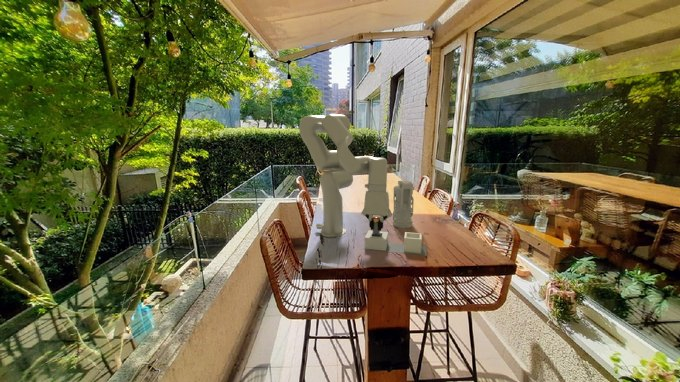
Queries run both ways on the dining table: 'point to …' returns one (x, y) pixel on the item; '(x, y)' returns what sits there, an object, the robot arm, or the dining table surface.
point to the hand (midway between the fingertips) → (376, 229)
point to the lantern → (403, 204)
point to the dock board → (381, 243)
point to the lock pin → (376, 226)
